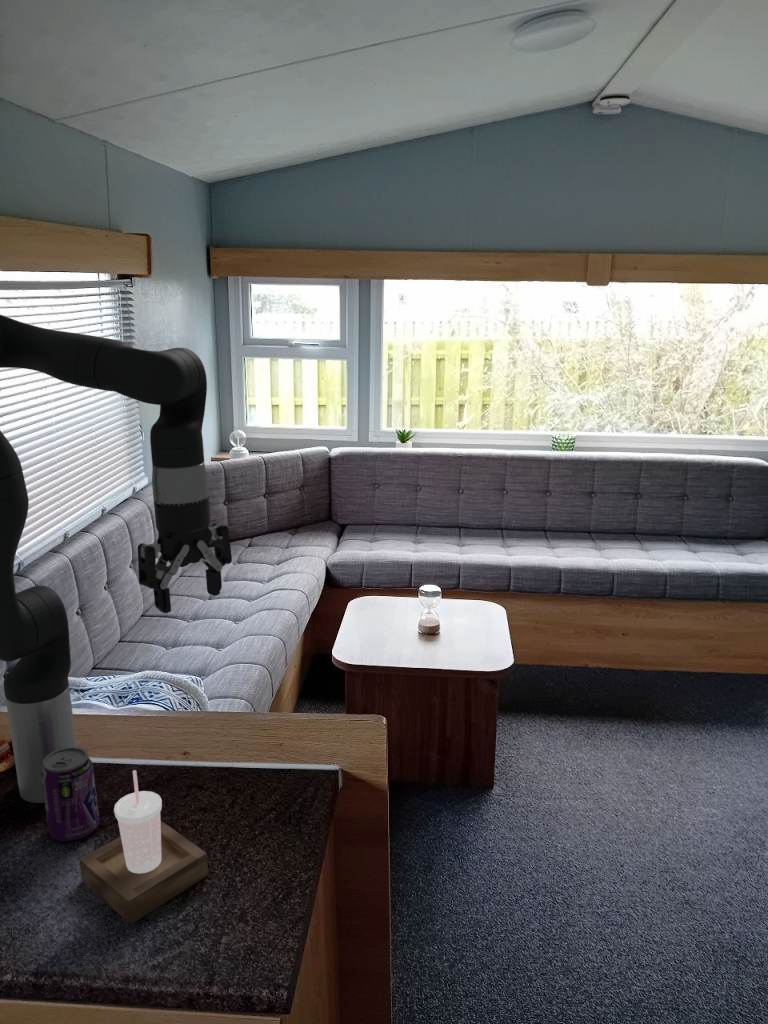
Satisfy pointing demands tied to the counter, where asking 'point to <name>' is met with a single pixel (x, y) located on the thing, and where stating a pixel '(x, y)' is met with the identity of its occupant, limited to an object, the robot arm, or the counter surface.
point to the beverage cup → (140, 828)
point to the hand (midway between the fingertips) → (189, 602)
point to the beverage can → (69, 794)
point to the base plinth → (143, 875)
